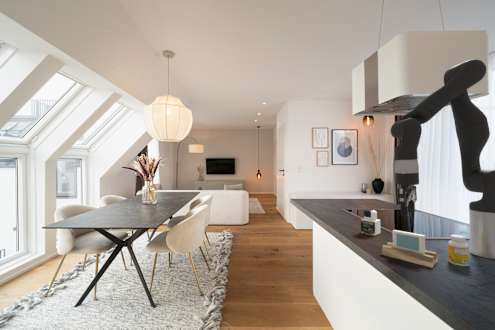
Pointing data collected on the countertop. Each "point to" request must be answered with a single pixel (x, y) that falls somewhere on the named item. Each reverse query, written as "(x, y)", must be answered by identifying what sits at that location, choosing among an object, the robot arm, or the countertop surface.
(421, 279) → the countertop surface
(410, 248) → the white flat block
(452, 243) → the supplement bottle
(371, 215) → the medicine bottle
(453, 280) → the countertop surface
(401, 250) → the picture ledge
